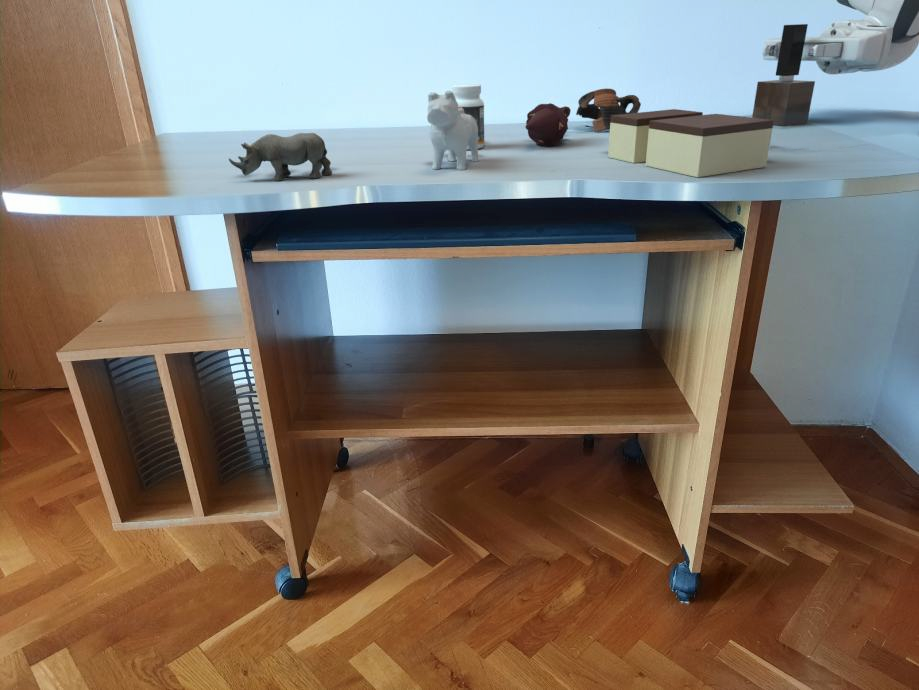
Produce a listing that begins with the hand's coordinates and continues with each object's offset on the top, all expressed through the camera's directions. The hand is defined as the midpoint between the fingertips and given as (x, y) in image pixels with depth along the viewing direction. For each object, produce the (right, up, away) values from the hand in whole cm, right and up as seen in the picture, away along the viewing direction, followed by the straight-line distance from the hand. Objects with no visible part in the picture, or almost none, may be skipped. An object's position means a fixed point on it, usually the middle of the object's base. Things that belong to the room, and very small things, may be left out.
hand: (788, 50), depth 110 cm
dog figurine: (-58, -25, -16) cm, 65 cm away
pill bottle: (-55, -17, -1) cm, 58 cm away
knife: (+1, -11, +6) cm, 12 cm away
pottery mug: (-28, -9, +14) cm, 33 cm away
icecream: (-42, -17, -2) cm, 45 cm away
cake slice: (-28, -22, -14) cm, 38 cm away
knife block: (+1, -12, +6) cm, 13 cm away
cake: (-23, -26, -23) cm, 42 cm away
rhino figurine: (-82, -28, -20) cm, 89 cm away
